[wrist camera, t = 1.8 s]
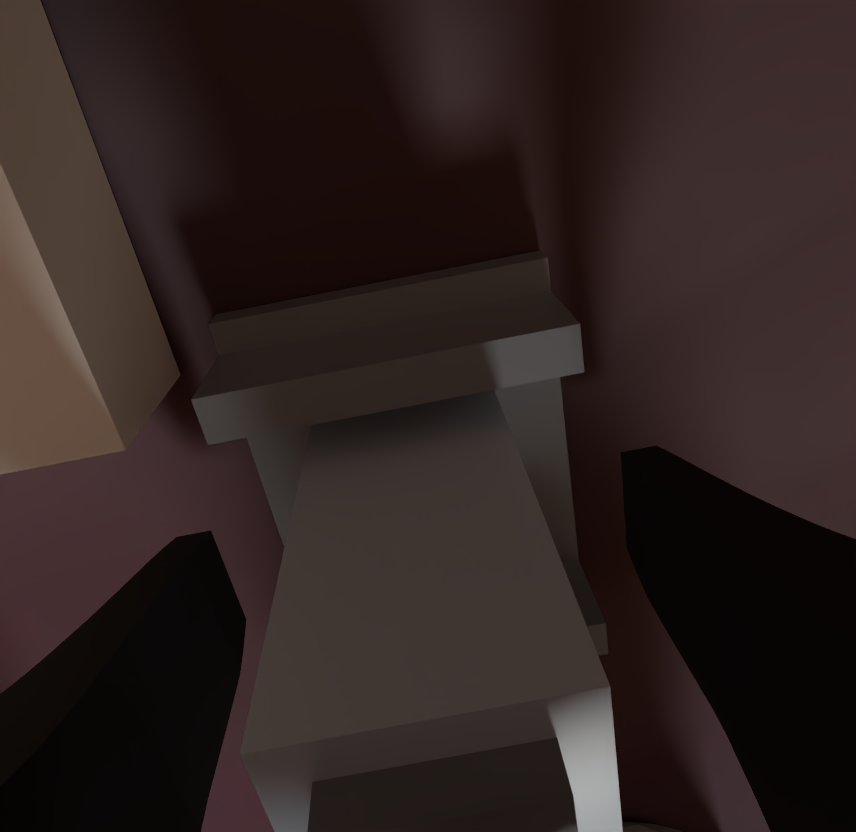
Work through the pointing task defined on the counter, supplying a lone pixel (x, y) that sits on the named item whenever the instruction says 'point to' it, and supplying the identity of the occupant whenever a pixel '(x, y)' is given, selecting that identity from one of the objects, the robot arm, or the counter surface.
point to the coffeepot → (646, 827)
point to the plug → (427, 642)
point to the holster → (405, 376)
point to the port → (65, 272)
